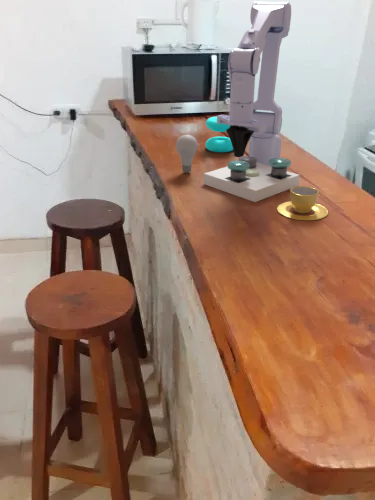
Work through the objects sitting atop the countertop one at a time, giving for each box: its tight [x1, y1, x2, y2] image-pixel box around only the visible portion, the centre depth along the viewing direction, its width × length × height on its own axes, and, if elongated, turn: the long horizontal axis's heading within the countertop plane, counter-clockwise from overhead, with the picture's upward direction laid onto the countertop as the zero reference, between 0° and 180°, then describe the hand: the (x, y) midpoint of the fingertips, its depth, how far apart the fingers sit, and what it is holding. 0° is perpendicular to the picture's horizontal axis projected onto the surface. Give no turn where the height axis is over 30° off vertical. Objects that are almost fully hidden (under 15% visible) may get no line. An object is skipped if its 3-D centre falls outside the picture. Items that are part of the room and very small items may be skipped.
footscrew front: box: [227, 160, 250, 183], centre depth 132 cm, size 6×6×5 cm
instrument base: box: [203, 155, 300, 203], centre depth 136 cm, size 18×18×5 cm
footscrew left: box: [269, 157, 292, 180], centre depth 134 cm, size 6×6×5 cm
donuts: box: [205, 115, 233, 153], centre depth 166 cm, size 10×10×10 cm
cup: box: [276, 185, 329, 221], centre depth 120 cm, size 12×12×5 cm
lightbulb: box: [175, 134, 199, 174], centre depth 143 cm, size 6×6×11 cm
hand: (239, 156), depth 130 cm, fingers closed
